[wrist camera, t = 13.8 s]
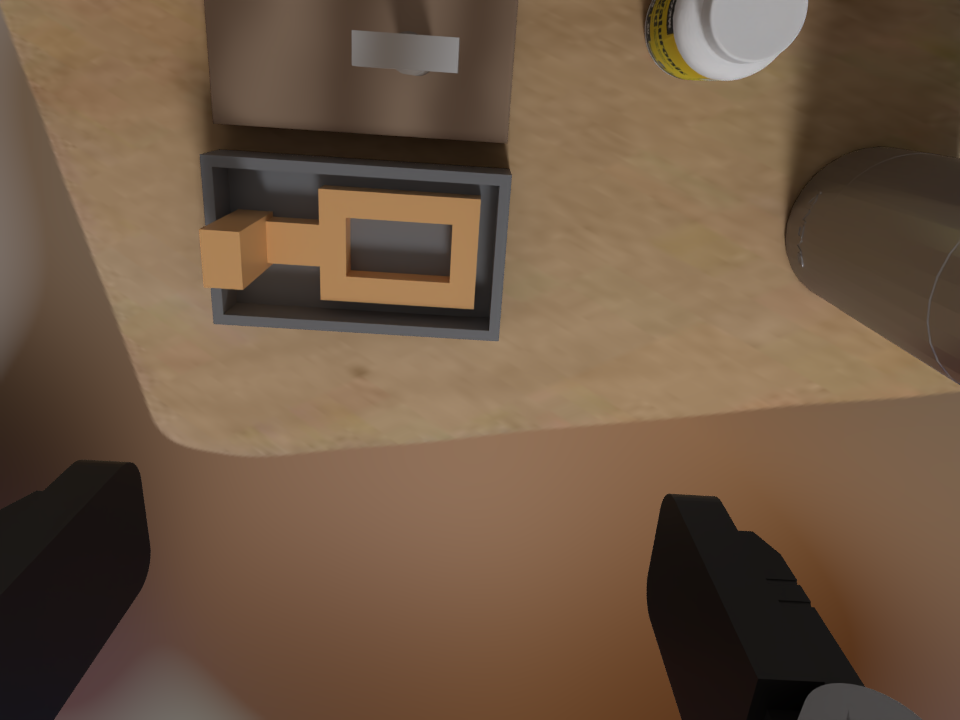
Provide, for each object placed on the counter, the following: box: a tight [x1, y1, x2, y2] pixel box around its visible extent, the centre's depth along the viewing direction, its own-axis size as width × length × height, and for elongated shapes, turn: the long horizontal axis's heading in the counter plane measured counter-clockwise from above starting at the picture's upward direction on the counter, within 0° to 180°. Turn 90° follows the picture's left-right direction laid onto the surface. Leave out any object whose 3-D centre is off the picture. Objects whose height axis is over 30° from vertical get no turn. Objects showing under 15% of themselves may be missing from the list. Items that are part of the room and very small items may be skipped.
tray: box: [200, 149, 512, 341], centre depth 40 cm, size 17×10×3 cm, turn 86°
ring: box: [199, 185, 481, 309], centre depth 38 cm, size 14×6×6 cm, turn 86°
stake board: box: [204, 0, 518, 143], centre depth 34 cm, size 16×8×8 cm, turn 86°
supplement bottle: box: [645, 0, 808, 81], centre depth 33 cm, size 5×5×10 cm
